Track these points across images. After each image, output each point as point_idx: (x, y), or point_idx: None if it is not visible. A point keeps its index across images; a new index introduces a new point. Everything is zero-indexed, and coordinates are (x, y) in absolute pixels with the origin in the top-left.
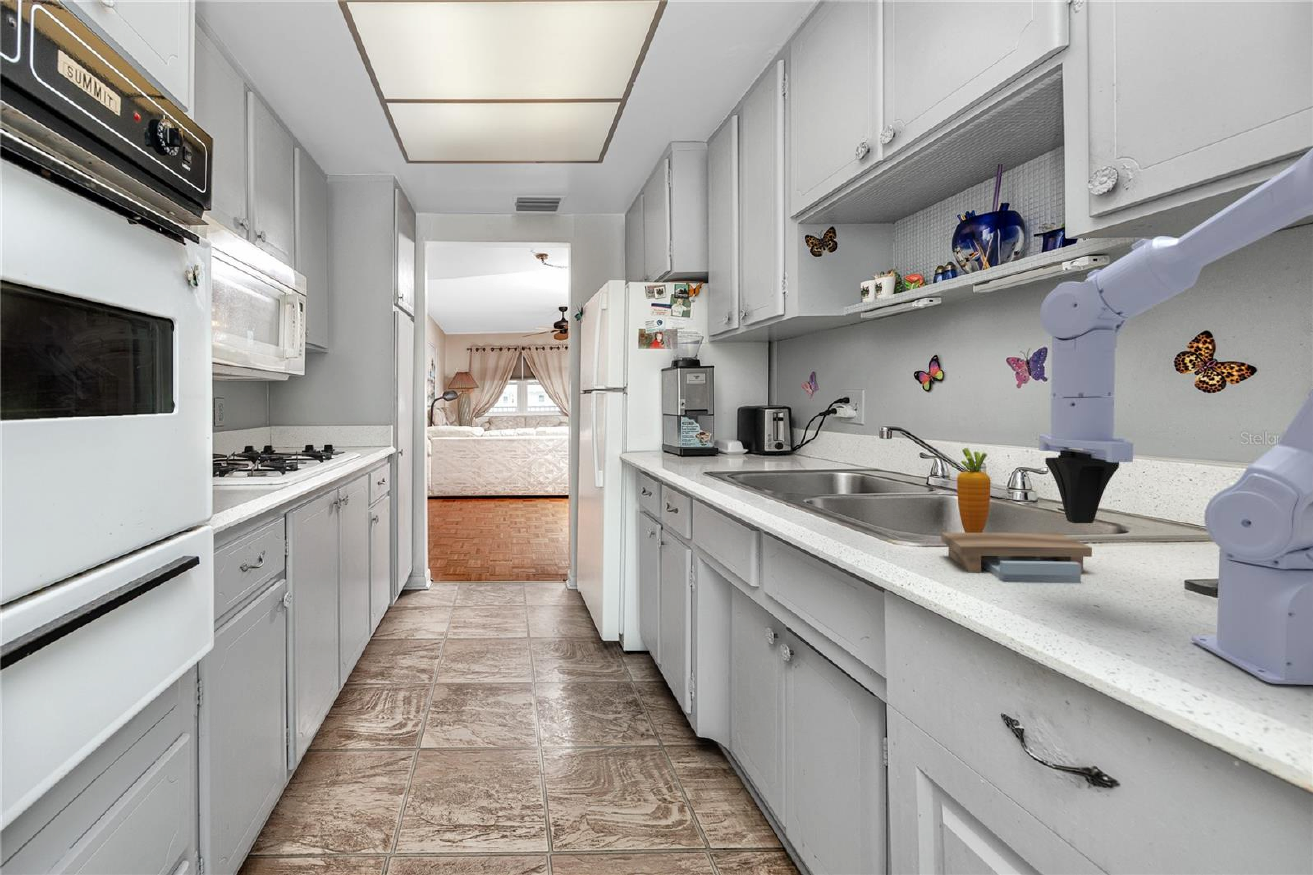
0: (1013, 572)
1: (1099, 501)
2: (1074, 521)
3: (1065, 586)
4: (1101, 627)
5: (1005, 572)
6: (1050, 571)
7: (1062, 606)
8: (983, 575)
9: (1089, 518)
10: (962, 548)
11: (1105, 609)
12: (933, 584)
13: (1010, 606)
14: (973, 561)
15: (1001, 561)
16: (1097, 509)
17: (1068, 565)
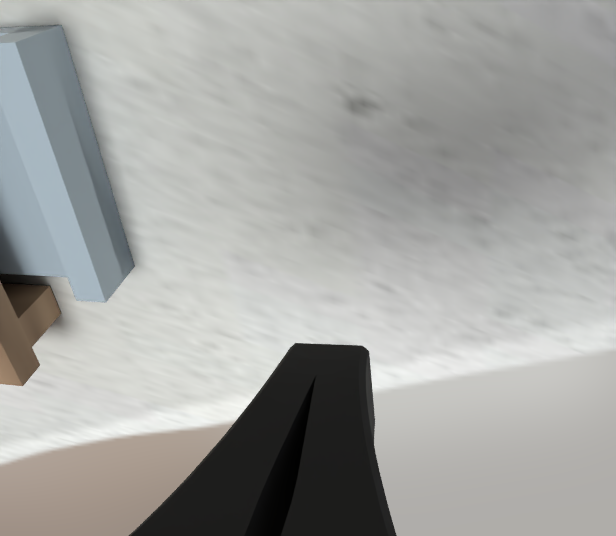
0: (111, 257)
1: (373, 449)
2: (373, 430)
3: (132, 103)
4: (590, 197)
5: (119, 278)
6: (71, 148)
7: (374, 212)
8: None
9: (368, 386)
10: (25, 378)
11: (399, 93)
12: (212, 419)
13: (385, 337)
14: (38, 325)
15: (84, 299)
16: (363, 399)
17: (37, 93)
